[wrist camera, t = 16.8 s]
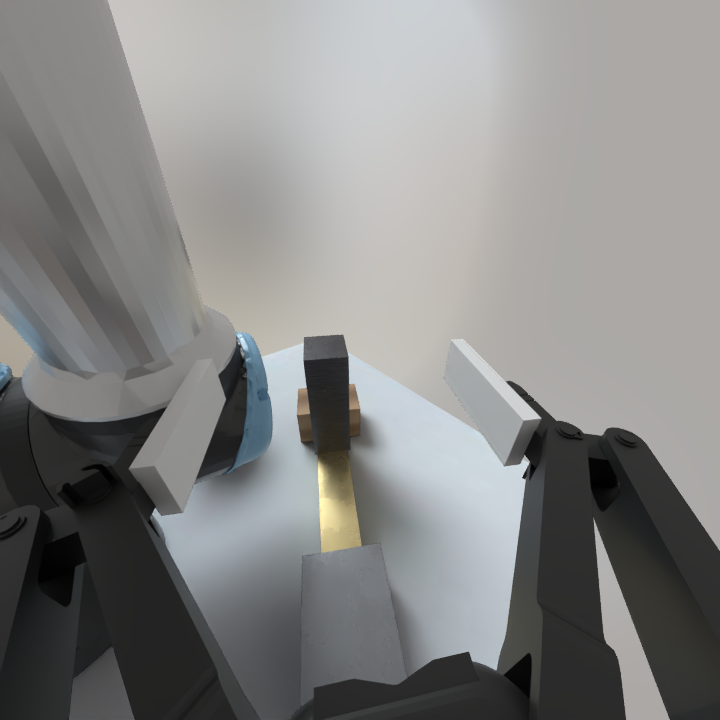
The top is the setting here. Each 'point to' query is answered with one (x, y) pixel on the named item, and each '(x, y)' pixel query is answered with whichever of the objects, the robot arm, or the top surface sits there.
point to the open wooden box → (305, 419)
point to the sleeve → (347, 620)
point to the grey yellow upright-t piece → (332, 439)
